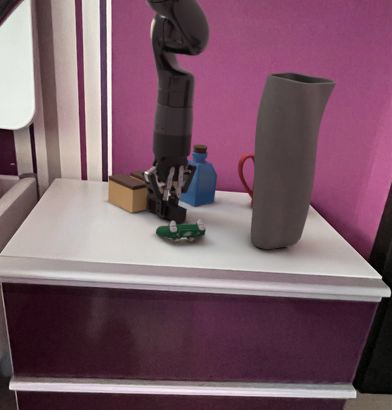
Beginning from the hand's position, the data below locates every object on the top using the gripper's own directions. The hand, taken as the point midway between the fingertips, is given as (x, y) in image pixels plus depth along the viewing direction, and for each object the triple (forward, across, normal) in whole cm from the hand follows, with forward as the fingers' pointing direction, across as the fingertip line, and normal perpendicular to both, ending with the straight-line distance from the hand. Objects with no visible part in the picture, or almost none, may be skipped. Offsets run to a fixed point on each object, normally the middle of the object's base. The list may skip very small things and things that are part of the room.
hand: (166, 214), depth 118 cm
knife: (0, 0, +4) cm, 4 cm away
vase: (+1, +8, -22) cm, 23 cm away
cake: (0, 0, +9) cm, 9 cm away
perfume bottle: (+1, +13, +4) cm, 14 cm away
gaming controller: (+1, -6, -11) cm, 12 cm away
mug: (+1, +23, -7) cm, 24 cm away
